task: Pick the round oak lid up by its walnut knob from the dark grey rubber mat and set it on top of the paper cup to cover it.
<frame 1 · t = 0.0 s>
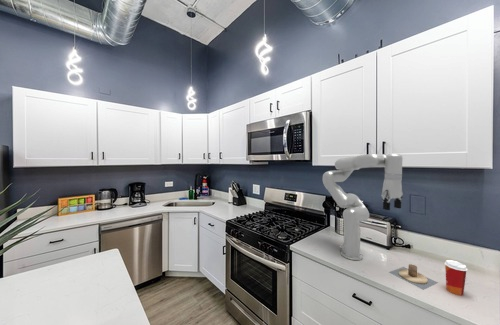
hand: (392, 208, 107), 37 cm above the worktop, tool pointing down, fingers open, 9 cm apart
paper cup: (454, 292, 95), on the worktop
grey mat: (412, 278, 106), on the worktop
oak lid: (412, 277, 106), resting on grey mat
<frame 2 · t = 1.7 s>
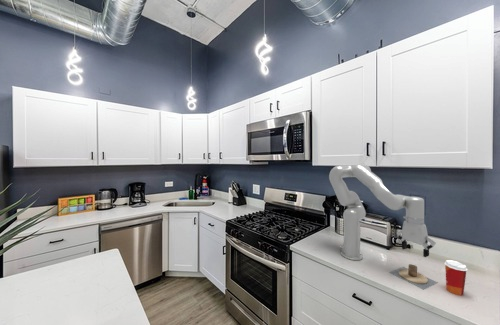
hand: (414, 252, 105), 14 cm above the worktop, tool pointing down, fingers open, 9 cm apart
nothing on the worktop moved.
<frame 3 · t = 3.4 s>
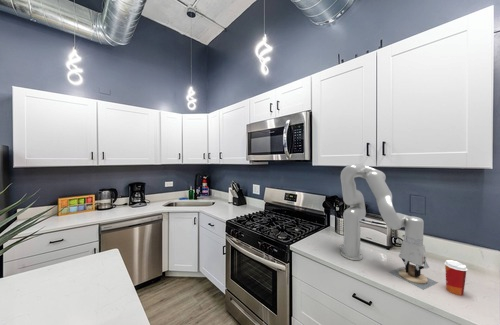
hand: (412, 273, 106), 2 cm above the worktop, tool pointing down, fingers closed on oak lid, 3 cm apart
oak lid: (412, 277, 106), point 1 cm above the worktop, touching grey mat, gripper
everything else where it was.
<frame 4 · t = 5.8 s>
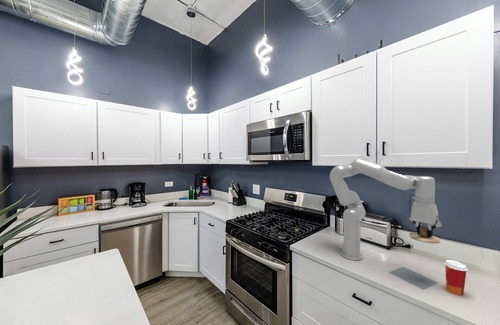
hand: (424, 235, 103), 24 cm above the worktop, tool pointing down, fingers closed on oak lid, 3 cm apart
oak lid: (424, 238, 103), point 23 cm above the worktop, touching gripper
everything else where it was.
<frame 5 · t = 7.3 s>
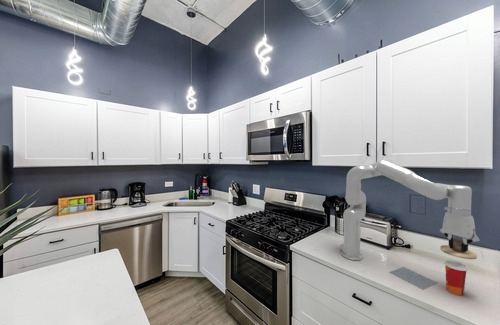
hand: (458, 249, 94), 21 cm above the worktop, tool pointing down, fingers closed on oak lid, 3 cm apart
oak lid: (457, 252, 94), point 19 cm above the worktop, touching gripper
everything else where it was.
when the fingers open (17 cm above the worktop, at t = 8.4 s): oak lid drops 1 cm, resting on paper cup.
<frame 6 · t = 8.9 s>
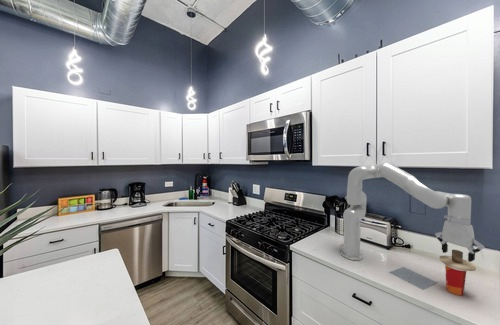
hand: (457, 256, 95), 18 cm above the worktop, tool pointing down, fingers open, 8 cm apart
paper cup: (454, 292, 95), on the worktop, touching oak lid
oak lid: (456, 263, 95), point 14 cm above the worktop, touching paper cup
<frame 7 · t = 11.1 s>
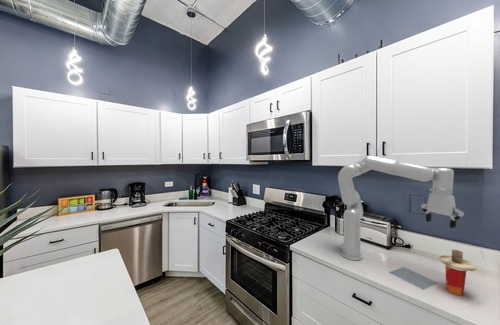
hand: (440, 224, 103), 30 cm above the worktop, tool pointing down, fingers open, 9 cm apart
nothing on the worktop moved.
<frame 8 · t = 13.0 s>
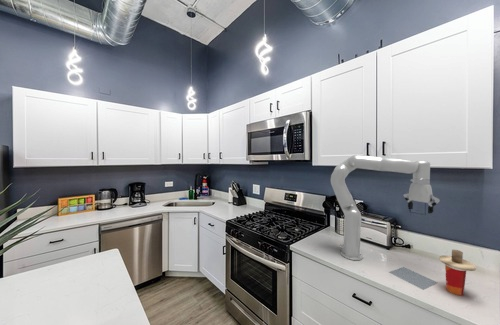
hand: (420, 211, 116), 33 cm above the worktop, tool pointing down, fingers open, 9 cm apart
nothing on the worktop moved.
at the end: oak lid 0.0 cm from the target spot, point 14.0 cm above the worktop; paper cup tilted 0°; the gripper is holding nothing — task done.
